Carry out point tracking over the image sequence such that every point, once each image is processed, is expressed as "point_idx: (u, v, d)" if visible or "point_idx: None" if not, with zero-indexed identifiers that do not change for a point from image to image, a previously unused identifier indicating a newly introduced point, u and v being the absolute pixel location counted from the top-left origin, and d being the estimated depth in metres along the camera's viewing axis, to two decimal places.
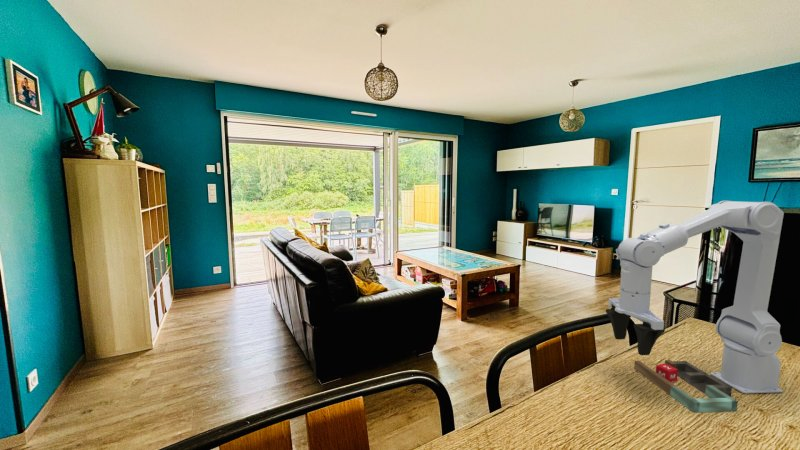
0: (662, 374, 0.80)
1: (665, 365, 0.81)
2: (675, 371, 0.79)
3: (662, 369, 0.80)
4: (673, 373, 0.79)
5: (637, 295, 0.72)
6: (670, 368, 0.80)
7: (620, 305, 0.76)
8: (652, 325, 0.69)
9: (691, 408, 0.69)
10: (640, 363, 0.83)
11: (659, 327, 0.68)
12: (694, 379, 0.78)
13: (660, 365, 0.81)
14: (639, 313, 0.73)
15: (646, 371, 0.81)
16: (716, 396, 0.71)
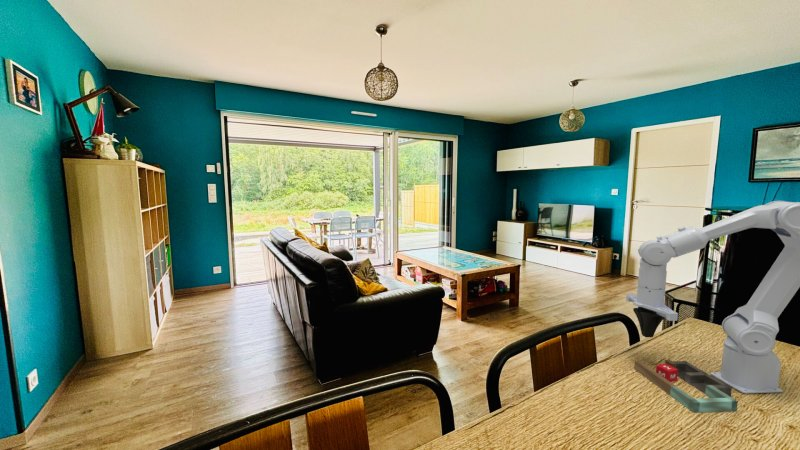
0: (662, 374, 0.80)
1: (665, 365, 0.81)
2: (675, 371, 0.79)
3: (662, 369, 0.80)
4: (673, 373, 0.79)
5: (653, 290, 0.82)
6: (670, 368, 0.80)
7: (638, 299, 0.86)
8: (667, 317, 0.79)
9: (691, 408, 0.69)
10: (640, 363, 0.83)
11: (673, 318, 0.78)
12: (694, 379, 0.78)
13: (660, 365, 0.81)
14: (655, 306, 0.82)
15: (646, 371, 0.81)
16: (716, 396, 0.71)
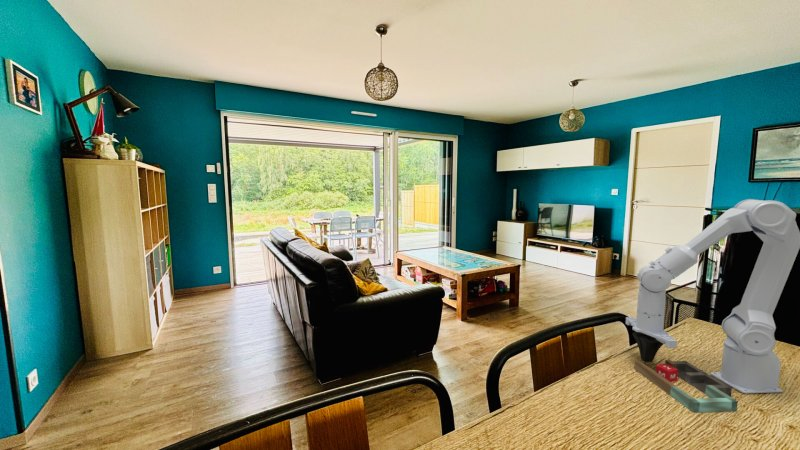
0: (662, 374, 0.80)
1: (665, 365, 0.81)
2: (675, 371, 0.79)
3: (662, 369, 0.80)
4: (673, 373, 0.79)
5: (653, 317, 0.82)
6: (670, 368, 0.80)
7: (637, 325, 0.86)
8: (666, 344, 0.79)
9: (691, 408, 0.69)
10: (640, 363, 0.83)
11: (672, 345, 0.79)
12: (694, 379, 0.78)
13: (660, 365, 0.81)
14: (654, 332, 0.83)
15: (646, 371, 0.81)
16: (716, 396, 0.71)
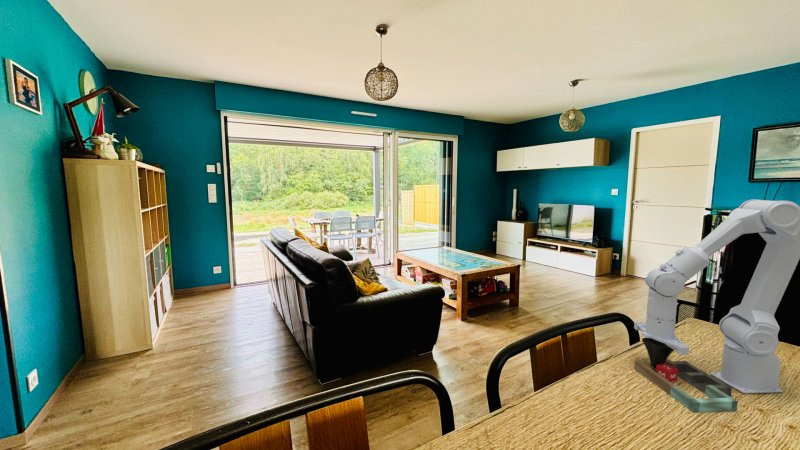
0: (662, 374, 0.80)
1: (665, 364, 0.81)
2: (675, 371, 0.79)
3: (662, 369, 0.80)
4: (673, 373, 0.79)
5: (663, 322, 0.79)
6: (670, 368, 0.80)
7: (647, 330, 0.83)
8: (678, 350, 0.76)
9: (691, 408, 0.69)
10: (640, 363, 0.83)
11: (685, 352, 0.75)
12: (694, 379, 0.78)
13: (660, 365, 0.81)
14: (665, 338, 0.79)
15: (646, 371, 0.81)
16: (716, 396, 0.71)
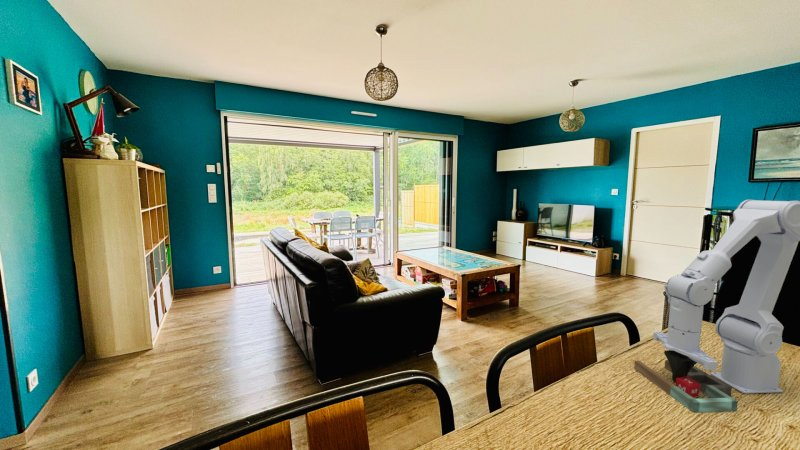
0: (682, 388, 0.74)
1: (686, 378, 0.75)
2: (697, 386, 0.73)
3: (683, 383, 0.74)
4: (695, 388, 0.73)
5: (688, 333, 0.73)
6: (692, 382, 0.74)
7: (668, 341, 0.76)
8: (705, 365, 0.69)
9: (691, 408, 0.69)
10: (640, 363, 0.83)
11: (712, 367, 0.69)
12: (694, 379, 0.78)
13: (680, 378, 0.75)
14: (689, 351, 0.73)
15: (646, 371, 0.81)
16: (716, 396, 0.71)
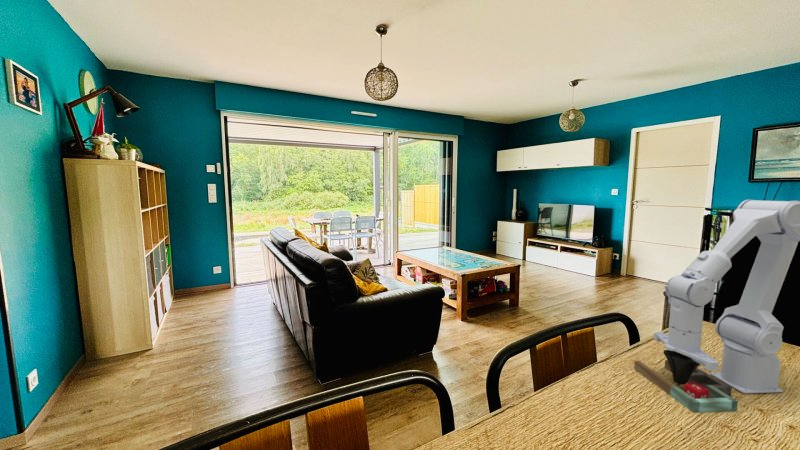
0: (691, 394, 0.72)
1: (694, 384, 0.73)
2: (706, 391, 0.71)
3: (691, 389, 0.72)
4: (704, 394, 0.71)
5: (689, 334, 0.73)
6: (701, 388, 0.72)
7: (669, 342, 0.76)
8: (706, 366, 0.69)
9: (691, 408, 0.69)
10: (640, 363, 0.83)
11: (713, 368, 0.69)
12: (694, 379, 0.78)
13: (688, 384, 0.73)
14: (690, 352, 0.73)
15: (646, 371, 0.81)
16: (716, 396, 0.71)
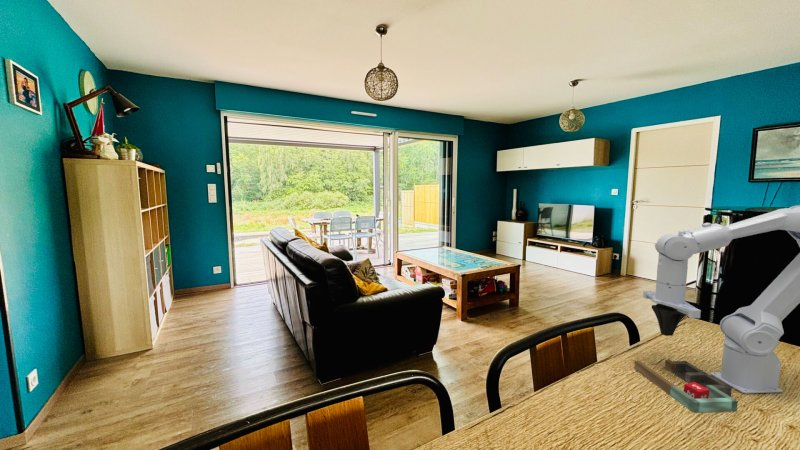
0: (691, 394, 0.72)
1: (694, 384, 0.73)
2: (706, 391, 0.71)
3: (691, 389, 0.72)
4: (704, 394, 0.71)
5: (674, 287, 0.78)
6: (701, 388, 0.72)
7: (657, 296, 0.82)
8: (689, 314, 0.75)
9: (691, 408, 0.69)
10: (640, 363, 0.83)
11: (696, 315, 0.74)
12: (694, 379, 0.78)
13: (688, 384, 0.73)
14: (676, 303, 0.79)
15: (646, 371, 0.81)
16: (716, 396, 0.71)
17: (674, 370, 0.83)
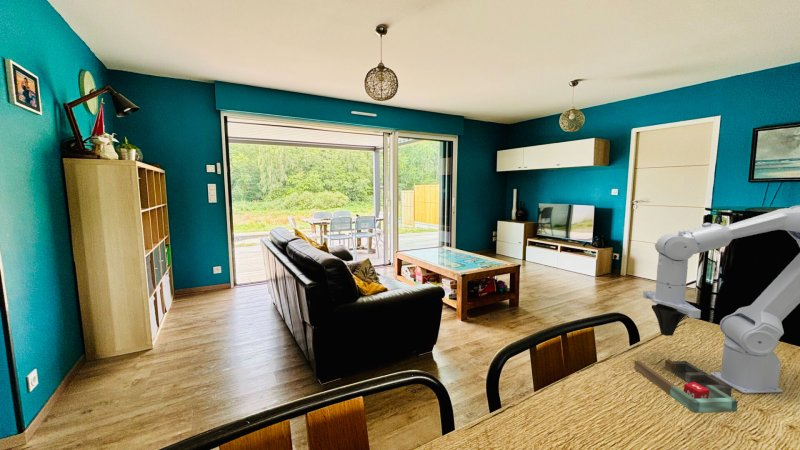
0: (691, 394, 0.72)
1: (694, 384, 0.73)
2: (706, 391, 0.71)
3: (691, 389, 0.72)
4: (704, 394, 0.71)
5: (674, 287, 0.78)
6: (701, 388, 0.72)
7: (657, 296, 0.82)
8: (689, 314, 0.75)
9: (691, 408, 0.69)
10: (640, 363, 0.83)
11: (696, 315, 0.74)
12: (694, 379, 0.78)
13: (688, 384, 0.73)
14: (676, 303, 0.79)
15: (646, 371, 0.81)
16: (716, 396, 0.71)
17: (674, 370, 0.83)
